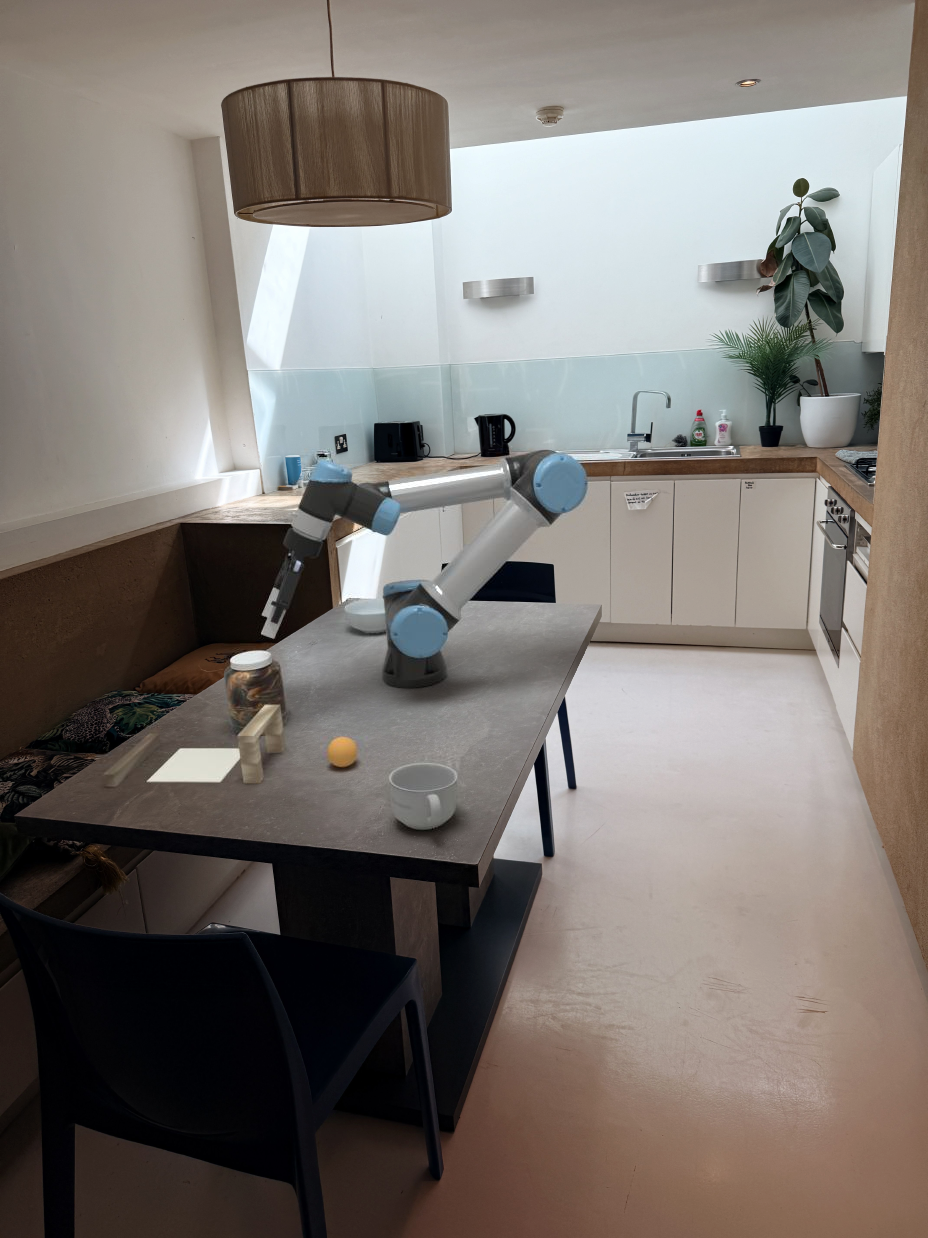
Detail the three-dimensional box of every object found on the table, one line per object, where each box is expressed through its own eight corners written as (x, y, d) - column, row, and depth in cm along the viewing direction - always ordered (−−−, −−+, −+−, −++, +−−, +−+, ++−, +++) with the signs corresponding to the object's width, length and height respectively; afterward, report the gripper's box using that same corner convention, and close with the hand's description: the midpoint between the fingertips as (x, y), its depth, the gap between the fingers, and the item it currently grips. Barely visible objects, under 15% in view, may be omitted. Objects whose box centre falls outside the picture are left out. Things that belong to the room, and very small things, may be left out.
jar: (226, 721, 185) (217, 654, 180) (281, 710, 189) (273, 644, 185) (235, 741, 174) (225, 670, 170) (293, 729, 178) (285, 660, 174)
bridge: (285, 748, 169) (280, 704, 166) (259, 783, 155) (253, 735, 153) (270, 748, 169) (265, 704, 167) (243, 783, 156) (237, 736, 153)
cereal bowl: (403, 637, 235) (401, 612, 233) (342, 640, 236) (339, 615, 234) (408, 619, 252) (406, 596, 250) (351, 622, 252) (348, 599, 250)
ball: (361, 759, 163) (359, 732, 161) (354, 772, 157) (351, 744, 156) (333, 759, 163) (330, 732, 162) (325, 772, 158) (322, 744, 156)
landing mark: (248, 749, 170) (248, 748, 170) (220, 782, 156) (220, 781, 156) (180, 749, 172) (180, 748, 172) (146, 782, 158) (146, 781, 158)
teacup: (392, 807, 144) (388, 763, 142) (457, 801, 145) (454, 757, 143) (392, 851, 131) (388, 803, 129) (464, 844, 131) (461, 797, 129)
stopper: (160, 745, 174) (158, 733, 173) (115, 787, 157) (113, 774, 156) (151, 745, 174) (149, 733, 174) (105, 787, 157) (102, 774, 157)
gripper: (288, 516, 189) (251, 603, 192) (290, 538, 165) (248, 637, 169) (321, 529, 191) (284, 616, 195) (327, 553, 167) (285, 651, 171)
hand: (267, 626), depth 182 cm, fingers open, 13 cm apart
